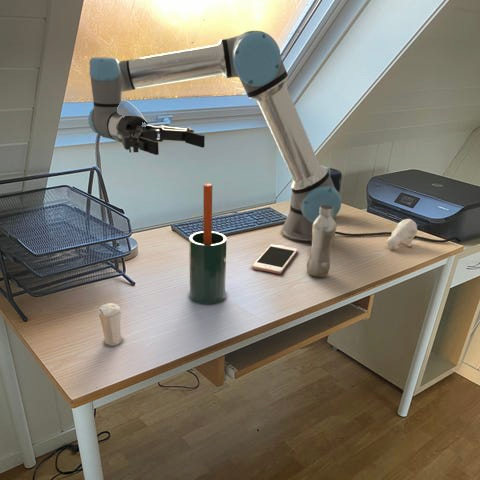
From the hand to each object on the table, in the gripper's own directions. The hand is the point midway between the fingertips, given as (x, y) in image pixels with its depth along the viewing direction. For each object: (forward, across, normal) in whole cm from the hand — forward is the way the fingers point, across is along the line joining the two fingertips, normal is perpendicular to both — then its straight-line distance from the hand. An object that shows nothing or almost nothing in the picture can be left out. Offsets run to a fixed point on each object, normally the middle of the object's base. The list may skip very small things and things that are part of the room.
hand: (181, 144), depth 111 cm
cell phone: (+6, -30, -36) cm, 47 cm away
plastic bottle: (+20, -32, -36) cm, 53 cm away
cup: (+10, 0, -36) cm, 37 cm away
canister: (-9, -74, -36) cm, 83 cm away
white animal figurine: (+25, -70, -36) cm, 83 cm away
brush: (+10, 0, -35) cm, 36 cm away
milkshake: (+12, +30, -36) cm, 49 cm away
